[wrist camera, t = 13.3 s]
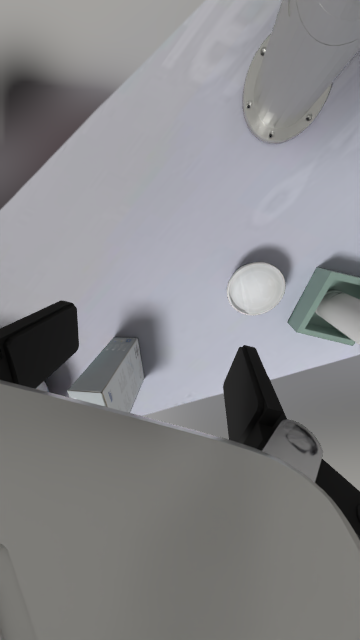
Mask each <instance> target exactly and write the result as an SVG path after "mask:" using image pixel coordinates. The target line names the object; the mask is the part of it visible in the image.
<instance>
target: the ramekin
mask: <svg viewBox="0 0 360 640" xmlns="http://www.w3.org/2000/svg"><path fill="white" fill-rule="evenodd" d="M284 293H285V279H284V276H283V274H282V273H281V272H280V270H279V269H277V268H276V267H275V266H273V265H271V264H268V263H264V262H254V263H250V264H246V265H244V266H242V267H240V268H239V269H237V270H236V271H235V273H234V274H233V275H232V277H231V278H230V280H229V282H228V285H227V297H228V300H229V303H230V304H231V306H232V307H233V308H234V309H235V310H237V311H238V312H240V313H242V314H245V315H260V314H263V313H266V312H268V311H270V310H271V309H273V308H274V307H275V306H276V305H277V304H278V303H279V302H280V300H281V299H282V297H283V295H284Z"/></svg>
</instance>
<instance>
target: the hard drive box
mask: <svg viewBox="0 0 360 640" xmlns="http://www.w3.org/2000/svg"><path fill="white" fill-rule="evenodd" d="M143 380H144V374H143V367H142V361H141V355H140V348H139V343H138V339H137V338H113V339H112V340H111V341H110V342H109V344H108V345H107V346H106V347H105V348H104V349H103V350H102V352H101V353H100V354H99V355H98V356H97V357H96V358H95V360H94V361H93V362H92V363H91V364H90V365H89V367H88V368H87V369H86V370H85V371H84V372H83V373H82V375H81V376H80V377H79V378H78V379H77V380H76V382H75V383H74V384H73V385H72V386H71V387H70V388H69V390H67V392H68V394H69V396H70V398H74V399H78V400H82V401H85V402H89V403H93V404H97V405H101V406H105V407H109V408H113V409H116V410H120V411H124V412H128V413H130V411H131V409H132V407H133V404H134V402H135V399H136V397H137V395H138V392H139V390H140V388H141V385H142V383H143Z"/></svg>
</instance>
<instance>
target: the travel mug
mask: <svg viewBox="0 0 360 640" xmlns="http://www.w3.org/2000/svg"><path fill="white" fill-rule="evenodd" d="M315 313H316V314H317V315H319V316H320V317H322V318H323V319H324V320H326V321H327V322H328V323H330V324H331V325H333V326H334V327H335V328H337V329H338V330H339V331H341V332H342V333H344V334H345V335H346V336H348V337H349V338H350V339H352V340H353V341H355V342H356V343H357V344H359V345H360V299H357V298H355V297H353V296H350V295H348V294H346V293H343V292H341V291H339V290H334V289H331V290H328V291H327V292H326V294H325V296H324V297H323V299H322V301H321V302H320V304H319V306H318V307H317V309H316V311H315Z"/></svg>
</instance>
